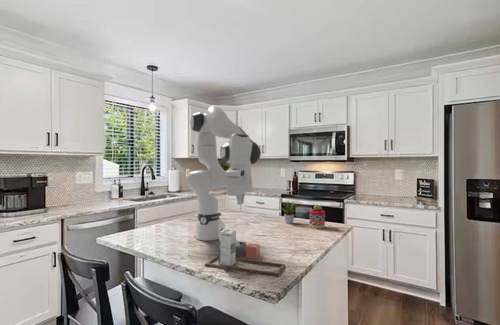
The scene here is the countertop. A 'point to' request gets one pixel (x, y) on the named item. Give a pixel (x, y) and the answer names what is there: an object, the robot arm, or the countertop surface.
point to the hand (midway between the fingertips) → (240, 204)
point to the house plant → (289, 212)
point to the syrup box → (227, 247)
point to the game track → (247, 269)
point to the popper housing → (241, 249)
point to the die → (252, 250)
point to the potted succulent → (317, 217)
